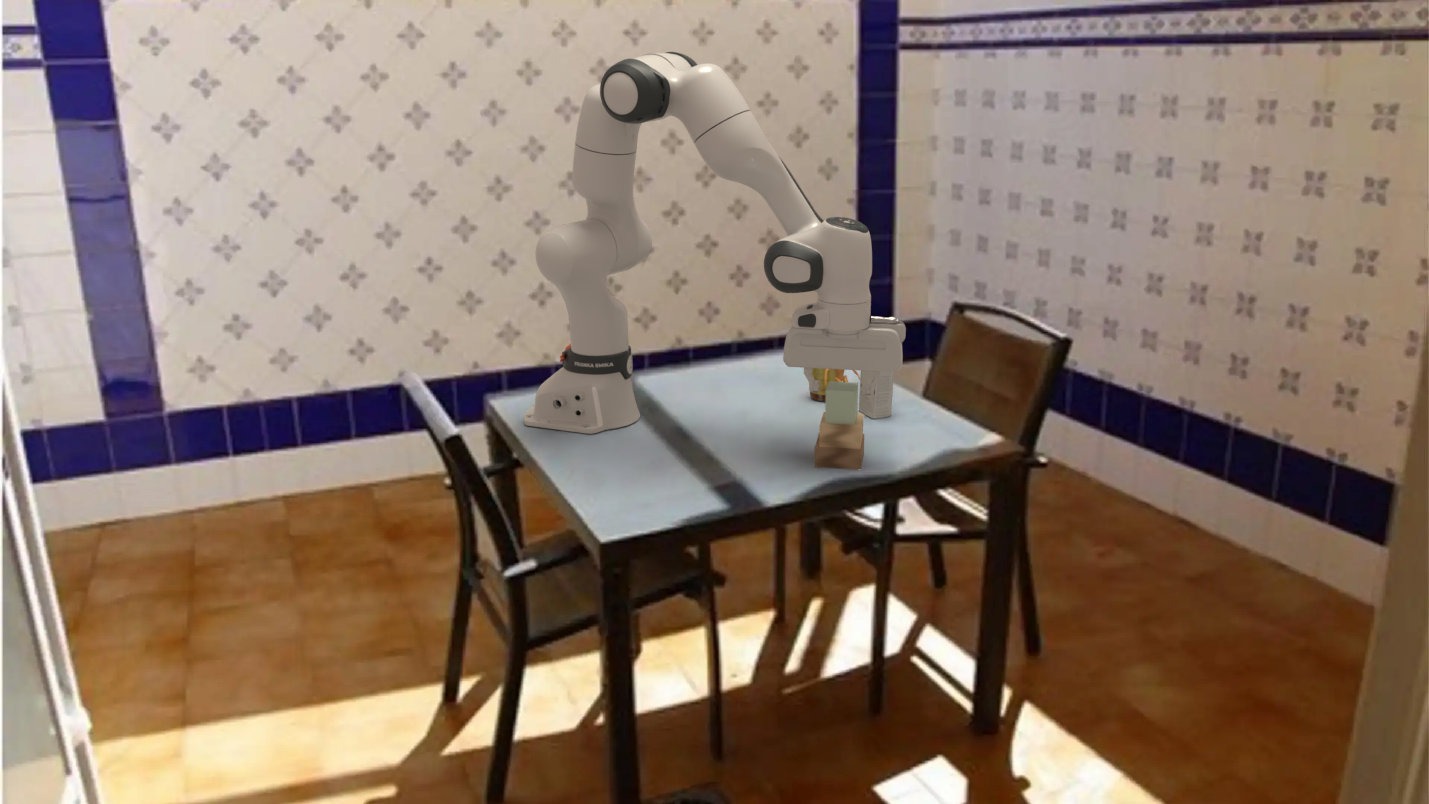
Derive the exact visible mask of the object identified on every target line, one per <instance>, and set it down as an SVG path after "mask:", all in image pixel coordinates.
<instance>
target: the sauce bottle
mask: <svg viewBox="0 0 1429 804" xmlns="http://www.w3.org/2000/svg"><path fill="white" fill-rule="evenodd" d="M825 370H826V369H822V368H813V371H812V375H813V377H814V379H815V380H820V384H819V392H810V383H809V382H808V384H809V387H808V388H809V389H808V390H809V396H810V398H811V399H813V400H815V401H818V402H819V401H820V402H823V403H826V388H827V386H828V384H827V385H826V386H824V381H825V379H824V378H825ZM836 377H837V374H836V373H835V371H834V369H831V370H830V371H828V372H827V381H826V382H827V383H829V381H832V382H835V378H836Z"/></svg>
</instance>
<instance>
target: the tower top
mask: <svg viewBox="0 0 1429 804" xmlns="http://www.w3.org/2000/svg"><path fill="white" fill-rule="evenodd" d="M864 416H865V414H864V413H857V418H856V422H855V425H847V424H829V423H825V411H823V413H822V417H821V419H820V423H819V432H818V435H819V447H830V448H849V449H860V447H861V442H862V438H863V434H864Z"/></svg>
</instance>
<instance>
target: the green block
mask: <svg viewBox="0 0 1429 804" xmlns="http://www.w3.org/2000/svg"><path fill="white" fill-rule="evenodd" d="M858 397H859V382H851V381H848V382H843V381H842V382H832V381H829V383H828V386H827V388H826V402H825V411H824V412H825V423H829V424H847V425H855V422H856V418H857V414H858V412H859V411H858V410H859V398H858Z"/></svg>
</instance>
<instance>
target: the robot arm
mask: <svg viewBox="0 0 1429 804" xmlns="http://www.w3.org/2000/svg"><path fill="white" fill-rule="evenodd" d="M668 117H674V118H676V119H678V120H679V121H680V122H681V123H682V124H683V126H684V128H686V131H687V132H688V135H689V136H690V139H691V140H692V142H693V144H694V146H695V148H696V149H697V151H698V153H699V155H700V157H701V158H702V160H703V162H705V164H706V165H707V167H708V168H709V169H710V170H711V171H712V172H713V173H714V174H715V175H716V176H717V177H719V178H722V179H723V180H726V181H731V182H735V183H738V184H741V185H743V186H747V187H748V188H750V189H752V190H754V191H756V192H757V193H758V194H759V195H760V196H761V197H762V198H763V199H764V201H765V202H766V203H767V205H768V207H769V208H770V210H771V211H772V213H773V214H774V216H775V217H776V219H777V220H778V222H779V224H780V225H781V227H782V228H783V230H784V231H785V233H786V236H785V237H782V238H781V239H779V240H777V241H776V242H775V243H773V244H771V246H769V247H768V249H767V251H766V253H765V255H764V259H763V271H764V274H765V276H766V279H767V280H768V282H769V283H770V284H771V286H772V287H773V288H775V290H777V291H780V293H781V292H782V293H785V294H799V293H808V292H815V293H817V297H818V298H817V301H816V302H812V303H809V304H806V305H805V304H804V305H801V306H798V307H797V308H795V310H794V311H793V312H792V313H791V318H790V319H791V320H790V322H791V326H790V327H789V330H788V332H787V334H786V337H785V340H784V347H783V357H782V359H783V360H782V361H783V362H784V364H785V365H786V366H787V367H789V368H803V374H804V376H805V379H807V381H808V384H809V383H810V390H809V393H810V392H819V384H820V380H815V379H814V377H813V375H812V371H813V368H822V369H842V370H845V371H847V370H848V371H853V370H855V371H860V372H861V371H872V377H874V378H873V380H872V381H871V383H866V385H865V395H872V396H873V395H874V386H875V385H876V383H877V382H878V380H879V379H880V377H881V372H894V373H897V372H899V371H900V370H901V369H902V367H903V357H904V356H903V354H904V353H903V343H904V341H905V339H906V336H907V335H906V333H907V327H906V325H905V323H904V322H903V321H901V320H900V319H898V318H897V317H894V316H889V317H884V316H876V315H875V316H874V315H871V310H872V308H871V306H872V303H871V302H872V294H871V291H870V281H871V277H872V275H873V250H872V249H873V248H872V238H871V234H870V231H869V228H868V227H867V226H866V225H865V224H863V223H862V222H861V221H858V220H856V219H853V218H850V217H845V216H844V217H841V216H840V217H839V216H831V217H827V218H826V219H823V218H822V217H821V216H820V214H818V212H817V211H816V209H815V208H814V206H813V205H812V204H811V202H810V200H809V199H808V197H807V195H806V194H805V193H804V191H803V190H802V188H801V186H800V184H799V183H798V182H797V180H796V178H795V177H794V175H793V174H792V172H791V171H790V169H789V168H788V167H787V165H786V163H785V162H784V161H783V160H782V158H781V157H780V155H779V154H778V153H777V151H776V150H775V148H774V147H773V146H772V144H771V143H770V141H769V140H768V138H767V136H766V134H765V133H764V130H763V129H762V128H761V126H760V124H759V122H758V120H756V117H755V115H754V113H753V112H752V109H751V108H750V106H749V105H748V102H747V101H746V99H745V98H744V96H743V95H742V93H741V92H740V89H738V87H737V86H736V85H735V83H734V81H732V80H731V78H730V76H728V75H727V73H726V72H725V71H724V70H723V69H722V67H720V66H719V65H717V64H714V63H709V62H708V63H700V64H698V63H697V62H696V60H694V59H693V58H692V57H690V56H689V55H686V54H684V53H681V52H676V51H666V52H652V53H651V52H650V53H645V54H642V55H640V56H636V57H633V58H626V59H622V60H620V61H617V62H616V63H614V64H613V65H611V66H610V67H609V68H608V69H607V70H606V71H605V72H604V74H603V75H602V78H601V80H600V83H597V84H594V85H592V86H591V87H590V88H589V89H588V90H587V91H586V92H585V95H584V99H583V101H582V105H581V109H580V111H579V117H578V122H577V128H576V132H575V135H576V136H575V141H574V142H575V143H574V151H573V162H572V163H573V164H572V165H573V166H572V173H571V184H572V186H573V187H572V188H573V189H574V190H575V192H576V193H577V194H578V195H580V196H581V197H582V198H584V199H585V201H586V206H587V215H586V218H585V219H583V220H579V221H574V222H569V223H565V224H561V225H559V226H556V227H555V228H552V229H551V230H549V231H547V232H545V233H544V234H542V235H541V236H540V237H539V239H538V241H537V243H536V247H535V263H536V265H537V268H538V270H539V272H540V273H541V275H542V276H543V277H544V278H545V279H546V280H547V281H549V282H550V283H552V284H553V285H554V286H555V287H556V288H557V290H558V291H559V294H561V297H562V299H563V301H564V304H565V307H566V311H567V314H568V315H567V316H568V326H569V337H570V343H569V344H568V345H567V346H566V347H565V349H564V351H562V352H561V355H559V363H562V367H561V368H559V369H558V370H557V371H556V372H554V373H553V374H552V375H550V377H548V378H547V379H546V380H544V381H543V383H541V384H540V386H539V387H538V389H537V391H536V394H535V398H534V404H533V405H532V406H531V407H530V408H528V409H527V410H526V412H525V413H524V415H523V424H524V425H525V426H528V427H535V428H542V429H549V430H556V431H558V430H559V431H566V432H572V433H579V434H580V433H581V434H589V435H591V434H593V435H594V434H596V433H600V432H603V431H606V430H612V429H613V430H614V429H618V428H622V427H625V426H629V425H632V424H633V423H636V422H637V421H638V420H639V419H640V418H641V414H640V411H639V408H638V404H637V402H636V398H635V393H634V392H635V391H634V387H633V380H632V375H633V370H634V369H633V365H634V364H633V355H632V348H631V346H630V344H629V343H630V341H629V320H628V319H629V318H628V317H629V315H628V309H627V307H626V305H625V304H624V303H623V301H621V300H619V299H618V298H616V297H614V296H613V295H612V293H611V291H610V287H609V284H608V276H611V275H614V274H618V273H619V274H620V273H622V272H625V271H628V270H631V269H632V268H635V267H636V266H638V265H640V263H642V262H644V261H645V260H647V258H648V257H649V256H650V254H651V250H652V247H653V239H652V233H651V231H650V228H649V226H648V224H647V222H645V220H643V219H642V217H640V215H639V214H638V211H637V207H636V204H635V197H634V178H635V170H636V169H635V168H636V157H637V151H638V150H637V149H638V140H639V132H640V128H641V126H642V124H644V123H648V122H656V121H661V120H664V119H665V118H668Z"/></svg>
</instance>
